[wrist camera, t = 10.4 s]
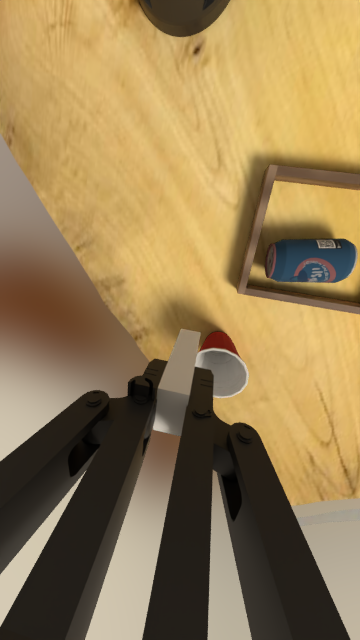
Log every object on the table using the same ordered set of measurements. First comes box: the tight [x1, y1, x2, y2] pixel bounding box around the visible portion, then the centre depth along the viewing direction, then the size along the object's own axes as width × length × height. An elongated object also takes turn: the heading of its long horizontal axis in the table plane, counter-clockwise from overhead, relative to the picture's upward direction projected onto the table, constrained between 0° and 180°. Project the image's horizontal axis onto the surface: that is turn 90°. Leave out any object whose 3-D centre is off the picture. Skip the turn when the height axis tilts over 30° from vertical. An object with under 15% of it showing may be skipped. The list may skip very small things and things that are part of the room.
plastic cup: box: [195, 332, 249, 398], centre depth 43 cm, size 11×11×12 cm
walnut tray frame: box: [236, 165, 360, 314], centre depth 36 cm, size 20×25×4 cm
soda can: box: [265, 239, 357, 283], centre depth 36 cm, size 7×7×12 cm
